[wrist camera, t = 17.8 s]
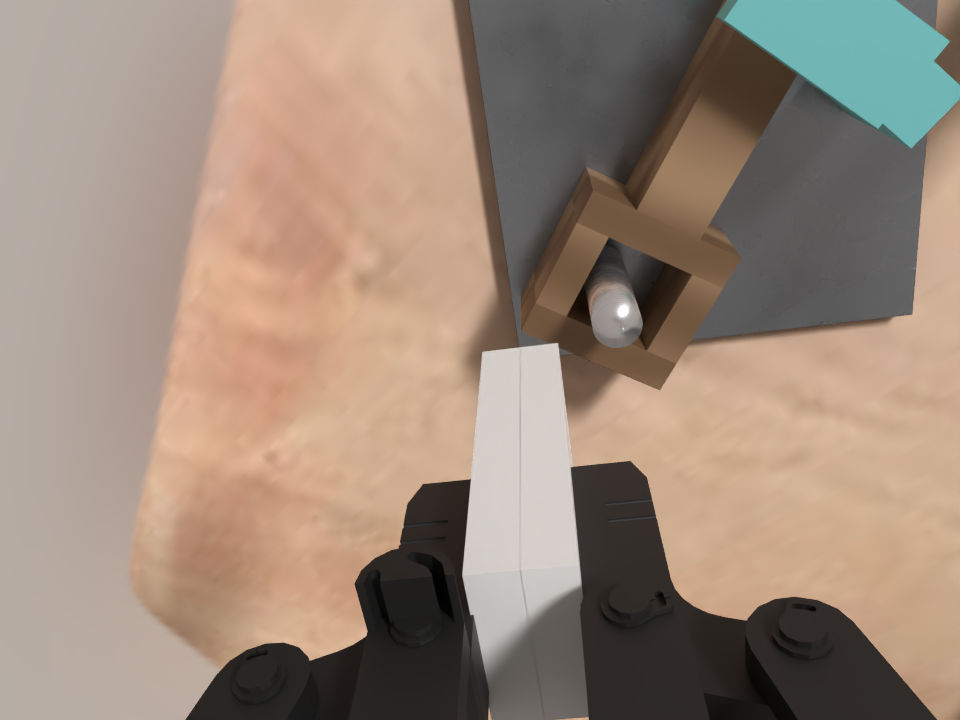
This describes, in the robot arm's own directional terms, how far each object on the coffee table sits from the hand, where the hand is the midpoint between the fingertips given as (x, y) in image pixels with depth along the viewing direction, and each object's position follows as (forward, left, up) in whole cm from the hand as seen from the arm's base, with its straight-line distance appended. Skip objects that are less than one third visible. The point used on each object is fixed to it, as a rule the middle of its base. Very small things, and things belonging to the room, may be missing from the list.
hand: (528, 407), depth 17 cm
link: (-1, -7, -23) cm, 24 cm away
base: (-1, -8, -24) cm, 26 cm away
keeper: (+4, -12, -24) cm, 27 cm away
